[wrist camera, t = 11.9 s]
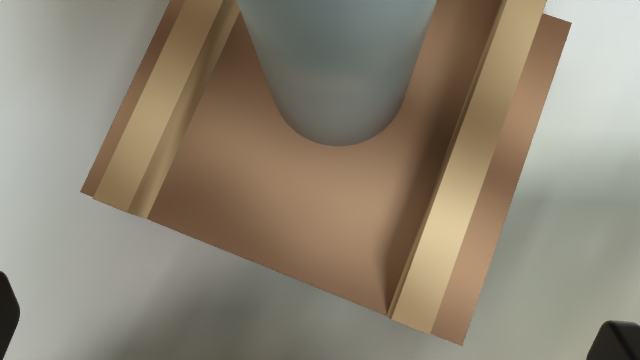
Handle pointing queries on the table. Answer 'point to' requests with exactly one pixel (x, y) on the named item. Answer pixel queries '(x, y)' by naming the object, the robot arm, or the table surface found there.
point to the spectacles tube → (337, 61)
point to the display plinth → (339, 158)
